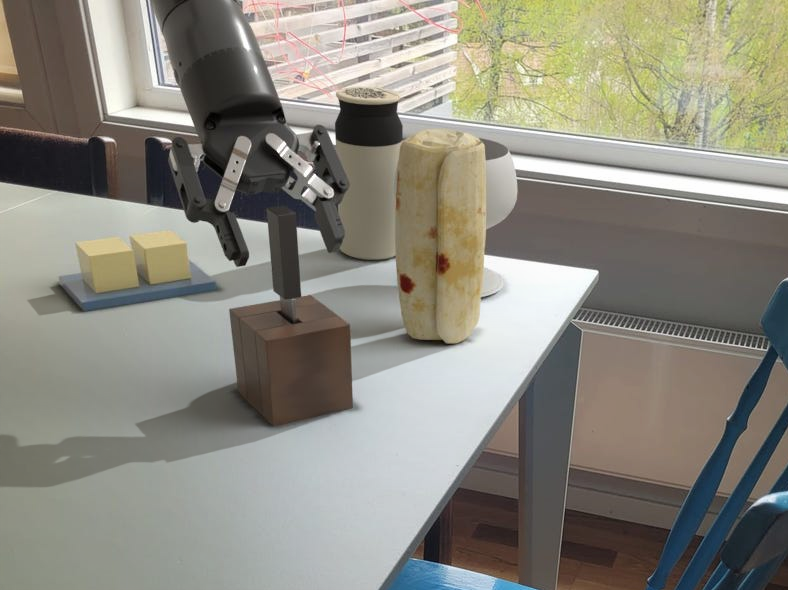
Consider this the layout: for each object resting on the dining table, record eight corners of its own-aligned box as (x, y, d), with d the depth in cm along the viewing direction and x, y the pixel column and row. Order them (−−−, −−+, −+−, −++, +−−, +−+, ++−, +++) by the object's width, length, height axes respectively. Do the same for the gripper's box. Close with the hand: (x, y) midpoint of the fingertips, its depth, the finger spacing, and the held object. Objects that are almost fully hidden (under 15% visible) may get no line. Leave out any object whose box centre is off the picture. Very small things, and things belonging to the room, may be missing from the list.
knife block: (273, 427, 89) (265, 340, 84) (238, 392, 94) (228, 308, 89) (353, 408, 92) (350, 324, 87) (315, 375, 97) (310, 294, 92)
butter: (83, 311, 107) (74, 264, 104) (60, 285, 113) (50, 239, 109) (216, 290, 114) (211, 245, 111) (187, 265, 119) (182, 222, 116)
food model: (464, 318, 111) (472, 120, 98) (494, 340, 106) (506, 136, 94) (385, 331, 107) (382, 127, 94) (412, 355, 102) (413, 143, 90)
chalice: (392, 263, 124) (391, 130, 114) (503, 264, 125) (511, 134, 116) (396, 304, 113) (395, 162, 103) (517, 306, 114) (528, 166, 105)
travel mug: (353, 264, 122) (349, 101, 111) (330, 244, 128) (323, 87, 117) (412, 257, 126) (413, 98, 114) (387, 238, 131) (386, 84, 120)
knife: (293, 407, 92) (278, 215, 81) (281, 396, 93) (265, 207, 83) (309, 403, 93) (296, 213, 82) (297, 393, 94) (283, 204, 83)
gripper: (144, 48, 77) (219, 243, 77) (311, 40, 83) (380, 220, 83) (133, 109, 84) (202, 289, 84) (289, 98, 90) (352, 264, 90)
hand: (291, 254), depth 84 cm, fingers open, 8 cm apart
